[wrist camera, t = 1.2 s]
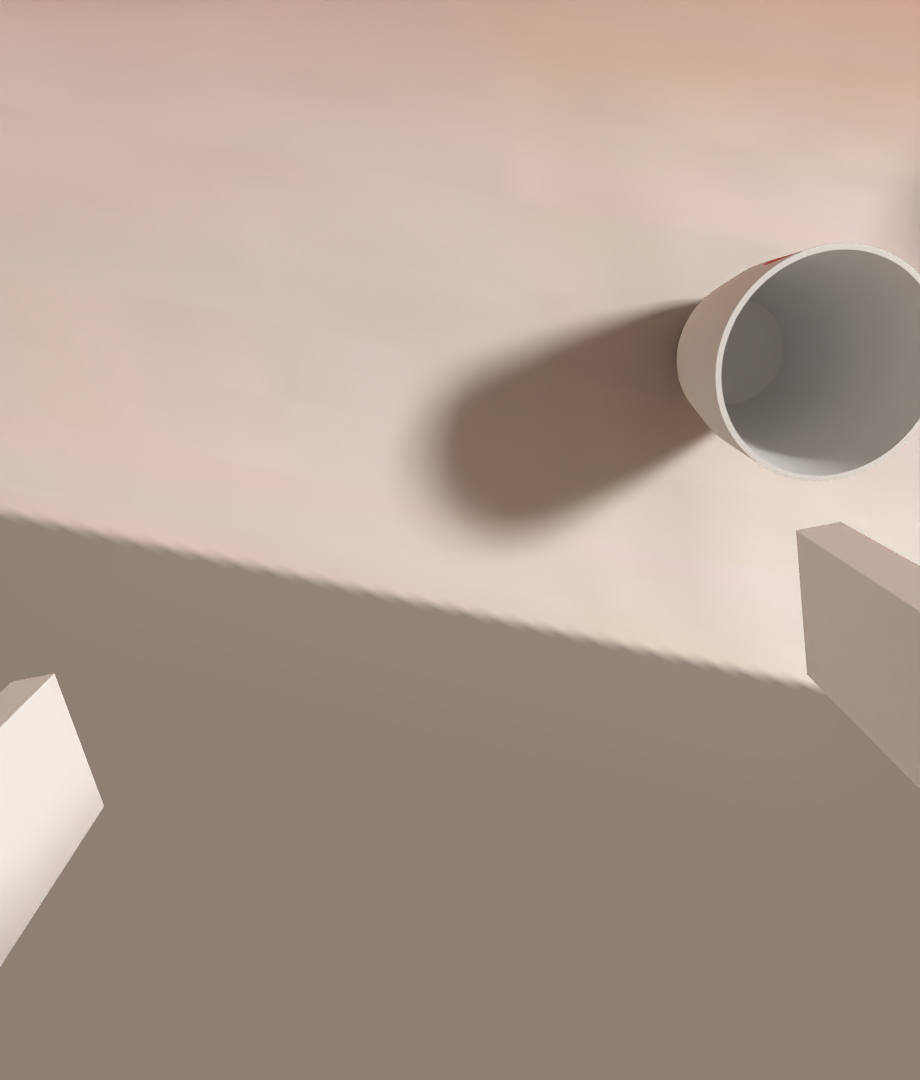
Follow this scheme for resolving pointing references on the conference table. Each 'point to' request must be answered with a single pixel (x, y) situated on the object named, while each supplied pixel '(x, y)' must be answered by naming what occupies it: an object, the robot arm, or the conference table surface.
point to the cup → (809, 360)
